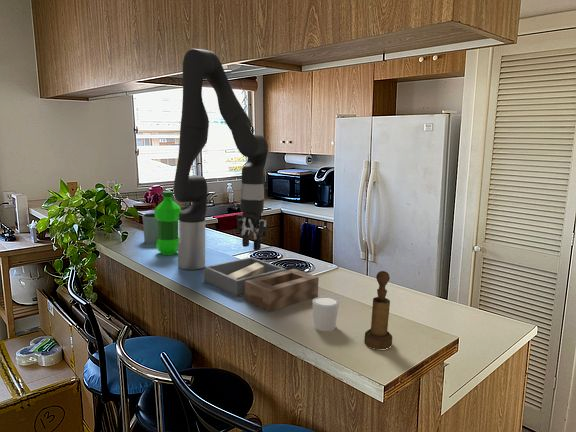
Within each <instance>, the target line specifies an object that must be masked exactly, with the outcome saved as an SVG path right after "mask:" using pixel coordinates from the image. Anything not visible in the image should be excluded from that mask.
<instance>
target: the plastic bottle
mask: <svg viewBox="0 0 576 432" xmlns="http://www.w3.org/2000/svg"><path fill="white" fill-rule="evenodd" d="M161 195H162V198H163V200H162V201H161V202H160V203H159V204H158V205H157V206H156V207H155V209H154V212H153V213H154V215H155V218H156V219H157V220H158V240H157V242H156V243H155V248H156V249H157V250H158V252H160V253H161V254H162V255H164V256H172V255H173V256H174V255H176V253H178V242H179V213H180V212H181V211H182V208H181V206H180V205H178V203H176V202H175V201H174V200H173V197H174V191H172V190H171V191H169V190H163V191H162V192H161Z"/></svg>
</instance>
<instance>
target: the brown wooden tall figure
mask: <svg viewBox="0 0 576 432" xmlns="http://www.w3.org/2000/svg"><path fill="white" fill-rule="evenodd" d="M375 278H376V281H377V283H378V288H377V290H376V292H377V293H376V294H377V296H375V297H373V299H372V307H371V308H372V312H371V320H370V321H371V322H370V328H369V329H368V330H366V331H365V333H364V338H363V339H364V344H366V345H367V346H366V345H365V346H366V347H368V348H369V347H371V348H370V349H372V348H375V349H374V350H376V349H386V348H389V347H390V346H391V345H392V346H393V335H392V334H391V332H389V331H388V327H389V316H390V306H391V301H390V299H389V298H386V296H387V293H388V290H387V289H386V286H387V285H388V283H389V281H390V278H391V277H390V274H389V273H388V271H385V270H381V271H379V272H377V273H376V275H375ZM392 346H391V347H392ZM389 349H390V348H389Z"/></svg>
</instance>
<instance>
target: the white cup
mask: <svg viewBox="0 0 576 432" xmlns="http://www.w3.org/2000/svg"><path fill="white" fill-rule="evenodd" d="M339 305H340V301H339V300H338V299H336V298H334V297H330V296H316V297H313V299H312V319H313V328H314V329H315V330H316V331H320V332H332V331H334V330H335V329H336V326H337V317H338V311H339Z"/></svg>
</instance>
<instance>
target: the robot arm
mask: <svg viewBox="0 0 576 432" xmlns="http://www.w3.org/2000/svg"><path fill="white" fill-rule="evenodd" d="M203 81H207V82H208V83H209V85H210V86H211V87H212V88H213V90H214V92H215V95H216V99H217V103H218V109H219V112H220V115H221V117H222V119H223V121H224V122H225V124H226V125H227V127H228V129H229V130H230V133H231V134H232V138H233V141H234V144H235V146H236V148H237V150H238V152H239V153H240V154H241V155H242V156H244V157H246V158H247V160H246V164H245V165H243V166H242V168H241V184H240V185H241V187H240V207H239V208H240V209H239V210H240V211H241V213H242V214H237V215H236V218H235V219H236V224H237V225H236V226H237V232H238V233H239V234H241V236H242V237H241V238H242V239H241V240H242V244H241V245H242V247H244V248H246V247H249V246H250V235H249V234H250V232H251V233H252V234H253V251H260V250H261V246H262V245H261V243H262V239H265V238H266V237H267V233H268V232H267V231H268V226H269V220H264V219H263V216H262V213H263V212H264V207H265V206H264V204H265V201H264V200H265V187H264V175H265V174H264V171H265V166H266V162H267V158H268V152H269V147H268V145H269V144H268V141H267V139H266V138H265V137H264V136H263V135H260V134H253V132H252V130H251V120H250V118H249V116H248V115H247V113H246V111H245V110H244V108H243V106H242V105H241V103H240V101H239V100H238V98H237V96H236V95H235V92H234V90H233V88H232V85H231V84H230V82H229V79H228V76H227V75H226V71H225V69H224V67H223V65H222V62H221V60H220V58H219V57H218V55H217V54H216V53H215V52H214V51H212V50H208V49H201V48H190V49H189V50H187V51H186V52H185V54H184V56H183V60H182V104H181V105H182V107H181V119H180V126H179V127H180V129H179V147H178V157H177V164H176V169H175V174H174V175H175V176H174V183H173V196H174V198H175V200H176V201H177V202H179V203H191V205H190V206H188V207H187V208H185V209H184V210H181V212H180V213H179V220H178V237H179V242H178V251H177V268H178V269H183V270H190V271H192V270H193V271H194V270H200V269H204V267H206V214H207V208H208V207H207V205H208V183H207V179H206V178H205V177H204V176H202V175H190V173H191V168H192V166H193V163H194V161H195V160H196V159H197V157H198V156H199V155H200V154H201V153H202V150H203V149H204V148H205V147H206V146H205V145H206V144H207V142H208V137H209V128H210V127H209V126H210V120H209V117H208V112H207V110H206V108H205V104H204V101H203Z"/></svg>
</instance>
